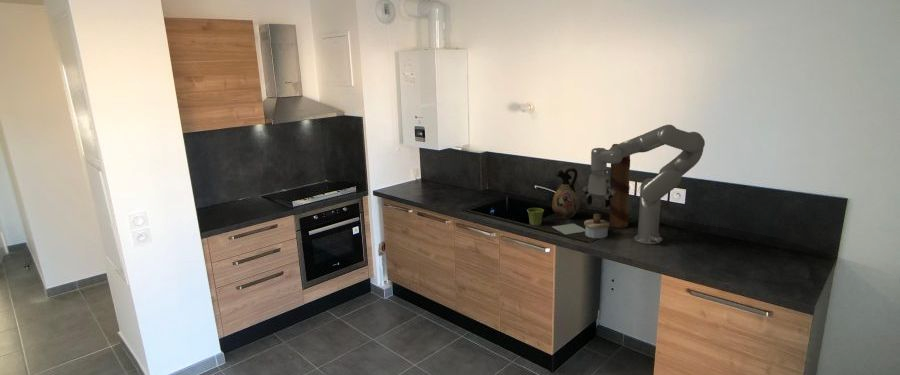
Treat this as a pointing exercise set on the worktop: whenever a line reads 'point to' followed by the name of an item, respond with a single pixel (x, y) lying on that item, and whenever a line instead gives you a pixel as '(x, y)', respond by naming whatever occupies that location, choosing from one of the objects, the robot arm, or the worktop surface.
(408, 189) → the worktop surface
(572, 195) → the ceramic jug
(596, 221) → the lid
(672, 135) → the robot arm
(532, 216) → the plant pot
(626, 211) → the wafer roll
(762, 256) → the worktop surface
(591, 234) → the bowl
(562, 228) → the mat
